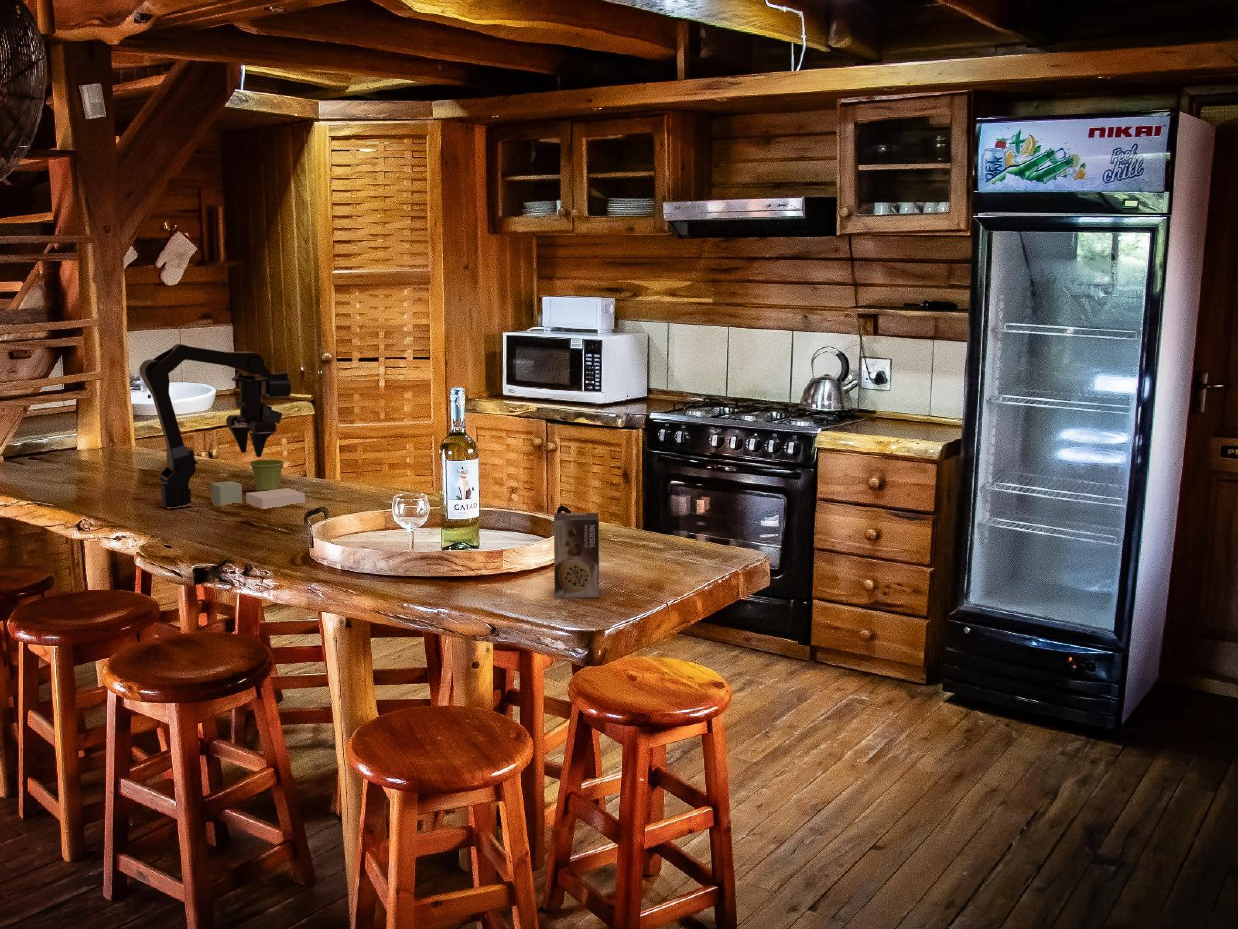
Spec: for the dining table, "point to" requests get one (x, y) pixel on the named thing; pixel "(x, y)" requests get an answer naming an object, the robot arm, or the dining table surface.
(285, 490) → the plinth
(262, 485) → the plant pot
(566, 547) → the coffee box
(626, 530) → the dining table surface
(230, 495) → the sage cube
